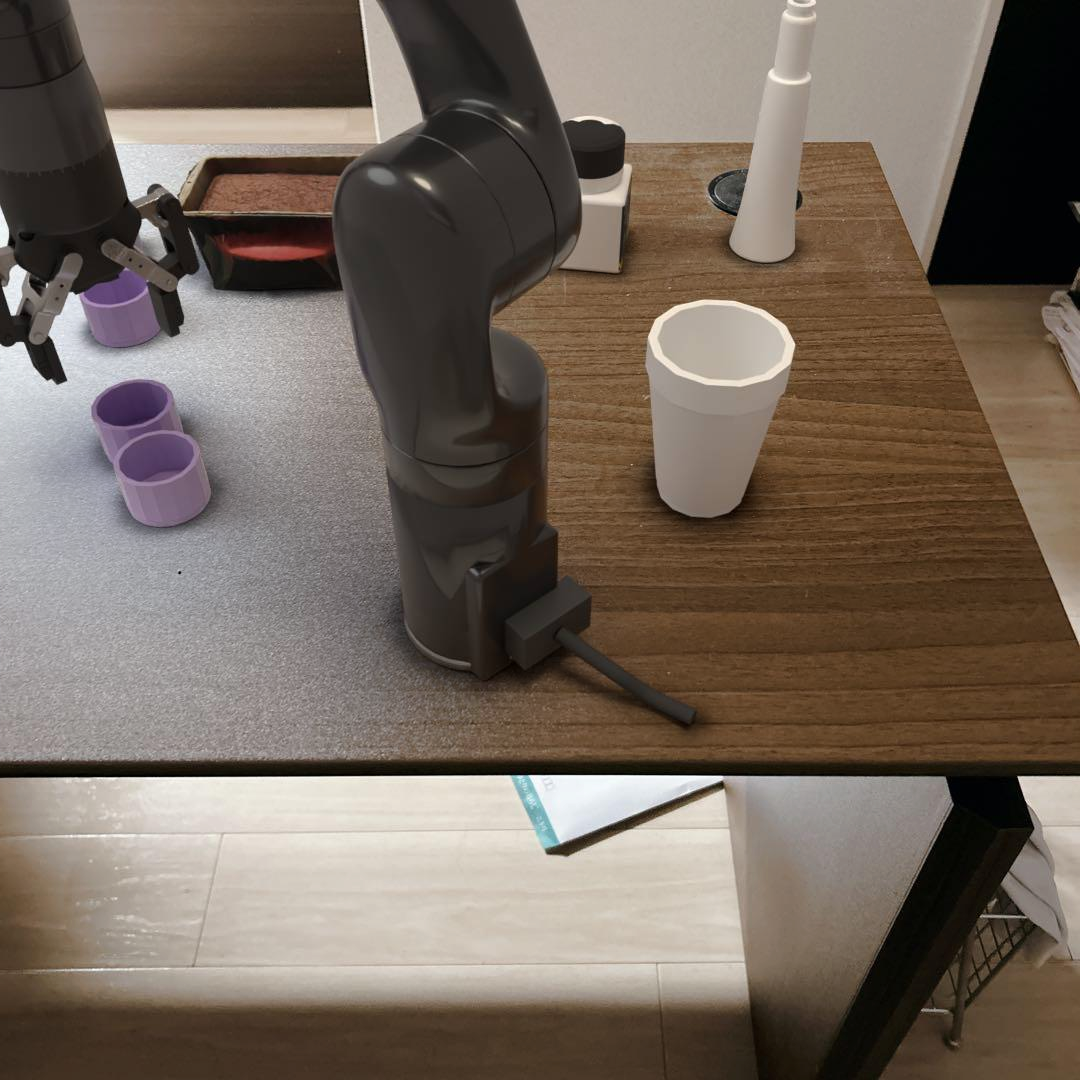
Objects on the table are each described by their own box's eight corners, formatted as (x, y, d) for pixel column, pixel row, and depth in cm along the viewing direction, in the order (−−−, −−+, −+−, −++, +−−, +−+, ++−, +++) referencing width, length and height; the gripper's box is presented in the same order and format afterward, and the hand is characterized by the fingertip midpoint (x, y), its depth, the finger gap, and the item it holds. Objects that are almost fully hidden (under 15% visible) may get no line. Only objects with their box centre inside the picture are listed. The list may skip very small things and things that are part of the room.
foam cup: (728, 433, 86) (751, 288, 77) (789, 512, 80) (822, 365, 71) (615, 463, 84) (624, 317, 75) (669, 547, 78) (687, 400, 69)
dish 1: (175, 329, 96) (164, 289, 93) (111, 356, 93) (97, 315, 90) (143, 299, 99) (131, 259, 96) (80, 324, 96) (66, 284, 93)
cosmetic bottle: (784, 269, 102) (830, 20, 86) (720, 254, 104) (754, 8, 88) (801, 236, 106) (848, -8, 90) (739, 223, 108) (774, -19, 92)
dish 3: (225, 501, 81) (214, 460, 78) (152, 539, 79) (137, 498, 76) (186, 460, 84) (174, 419, 81) (114, 495, 82) (99, 454, 79)
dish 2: (198, 447, 85) (187, 406, 82) (128, 481, 83) (113, 440, 80) (162, 410, 88) (150, 369, 85) (92, 442, 86) (77, 400, 83)
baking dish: (238, 226, 111) (199, 133, 103) (413, 210, 108) (386, 113, 100) (198, 320, 102) (151, 227, 94) (388, 306, 99) (356, 207, 91)
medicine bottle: (620, 275, 101) (628, 149, 93) (541, 268, 102) (542, 142, 94) (628, 233, 106) (636, 110, 98) (553, 227, 107) (555, 104, 98)
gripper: (-51, 200, 63) (40, 423, 74) (181, 124, 69) (231, 340, 81) (-98, 149, 67) (-5, 368, 78) (125, 81, 73) (181, 293, 85)
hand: (115, 353), depth 80 cm, fingers open, 8 cm apart
